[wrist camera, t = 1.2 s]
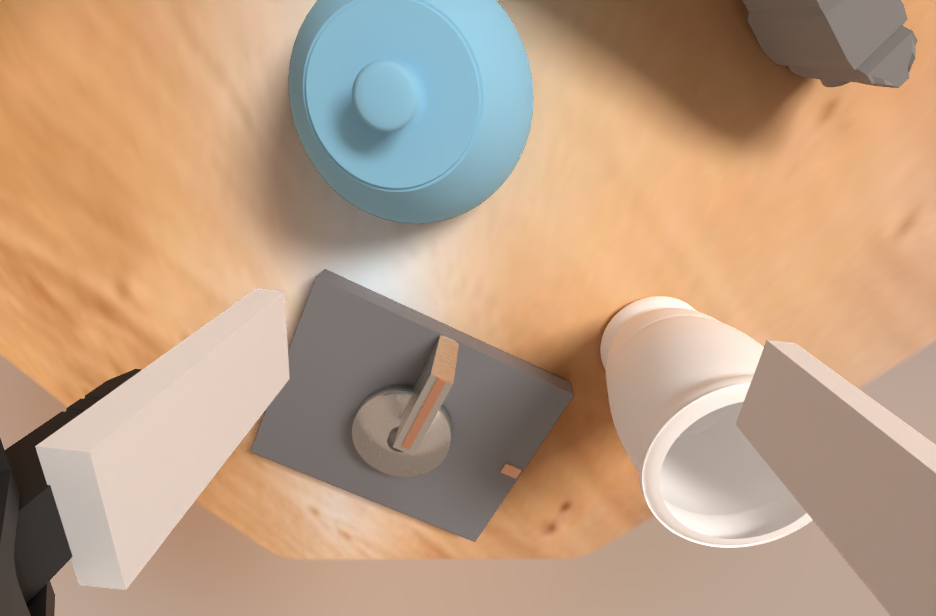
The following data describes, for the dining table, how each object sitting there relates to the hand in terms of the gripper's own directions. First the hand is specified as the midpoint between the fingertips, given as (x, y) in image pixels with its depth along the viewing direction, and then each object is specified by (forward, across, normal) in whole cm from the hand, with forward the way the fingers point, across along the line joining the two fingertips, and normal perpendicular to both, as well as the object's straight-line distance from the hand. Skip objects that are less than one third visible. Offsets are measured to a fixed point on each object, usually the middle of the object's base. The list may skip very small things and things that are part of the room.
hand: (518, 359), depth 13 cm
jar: (+23, +13, -9) cm, 28 cm away
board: (+23, -6, -18) cm, 30 cm away
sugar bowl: (+23, -6, +6) cm, 25 cm away
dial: (+21, -5, -16) cm, 26 cm away
